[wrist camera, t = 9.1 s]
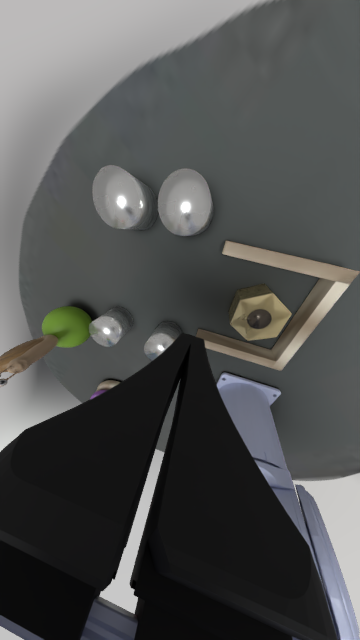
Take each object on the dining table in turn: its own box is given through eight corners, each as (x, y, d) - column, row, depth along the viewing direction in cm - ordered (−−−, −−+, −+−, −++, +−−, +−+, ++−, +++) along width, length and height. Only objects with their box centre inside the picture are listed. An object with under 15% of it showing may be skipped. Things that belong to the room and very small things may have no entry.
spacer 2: (133, 332, 22) (117, 350, 19) (110, 325, 22) (90, 341, 19) (134, 310, 20) (116, 326, 17) (109, 303, 21) (86, 316, 17)
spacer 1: (156, 233, 15) (137, 233, 12) (122, 225, 16) (95, 223, 12) (160, 186, 13) (139, 170, 10) (122, 179, 14) (89, 160, 10)
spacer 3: (179, 346, 21) (171, 368, 18) (155, 339, 22) (143, 358, 18) (184, 325, 19) (177, 344, 16) (158, 317, 20) (145, 335, 16)
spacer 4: (206, 239, 14) (202, 240, 11) (170, 231, 15) (155, 229, 11) (219, 190, 13) (218, 174, 9) (177, 182, 13) (161, 163, 9)
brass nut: (262, 330, 18) (270, 347, 15) (224, 320, 18) (225, 334, 15) (287, 289, 15) (301, 300, 12) (241, 277, 15) (246, 286, 13)
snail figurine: (113, 328, 22) (23, 405, 12) (83, 335, 25) (-14, 406, 15) (92, 293, 20) (-37, 353, 10) (61, 305, 23) (-70, 363, 12)
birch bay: (275, 358, 19) (280, 370, 17) (196, 334, 20) (193, 344, 18) (341, 266, 13) (359, 271, 11) (225, 240, 14) (226, 240, 12)
